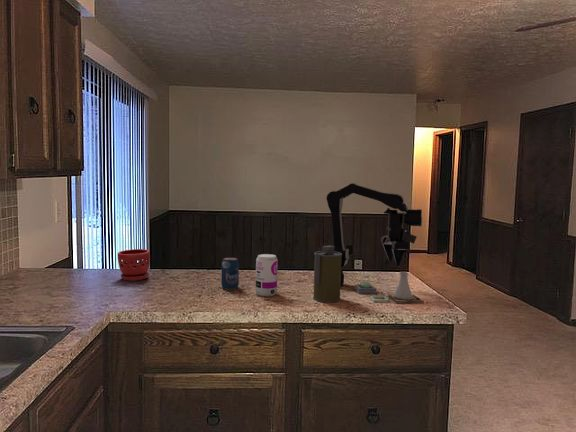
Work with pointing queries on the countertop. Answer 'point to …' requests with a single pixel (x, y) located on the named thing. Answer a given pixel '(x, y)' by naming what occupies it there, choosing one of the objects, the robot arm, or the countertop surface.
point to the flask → (403, 288)
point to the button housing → (365, 289)
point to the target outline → (407, 300)
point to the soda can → (230, 273)
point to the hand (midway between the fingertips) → (394, 263)
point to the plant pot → (134, 264)
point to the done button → (365, 284)
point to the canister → (327, 275)
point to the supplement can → (266, 274)
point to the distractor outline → (379, 300)
